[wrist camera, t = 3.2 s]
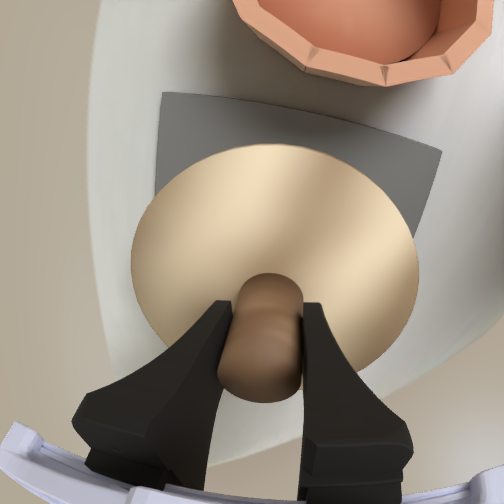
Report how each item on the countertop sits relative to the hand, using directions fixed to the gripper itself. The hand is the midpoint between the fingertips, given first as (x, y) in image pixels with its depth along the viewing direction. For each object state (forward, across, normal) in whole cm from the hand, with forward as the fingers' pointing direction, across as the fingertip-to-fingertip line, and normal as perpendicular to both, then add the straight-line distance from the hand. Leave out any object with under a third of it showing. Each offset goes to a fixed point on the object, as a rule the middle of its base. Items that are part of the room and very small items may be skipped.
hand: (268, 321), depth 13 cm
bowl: (+7, -4, -14) cm, 17 cm away
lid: (+2, 0, 0) cm, 2 cm away
